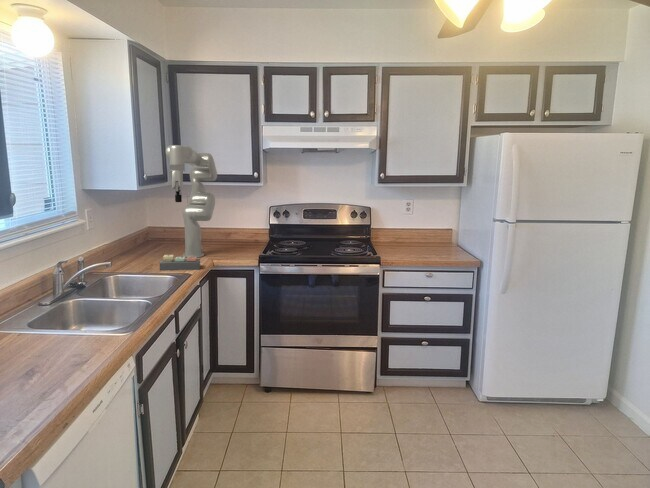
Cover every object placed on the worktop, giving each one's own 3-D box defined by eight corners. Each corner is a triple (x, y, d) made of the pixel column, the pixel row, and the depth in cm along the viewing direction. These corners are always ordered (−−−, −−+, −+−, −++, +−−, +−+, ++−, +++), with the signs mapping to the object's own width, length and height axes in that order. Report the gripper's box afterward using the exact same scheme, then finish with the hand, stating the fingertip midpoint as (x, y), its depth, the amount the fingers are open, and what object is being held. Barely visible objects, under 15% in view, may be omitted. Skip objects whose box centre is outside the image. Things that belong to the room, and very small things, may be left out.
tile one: (163, 265, 226) (163, 256, 225) (164, 263, 231) (164, 254, 230) (172, 265, 227) (172, 256, 226) (174, 263, 232) (173, 254, 231)
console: (159, 270, 224) (159, 263, 223) (162, 266, 233) (162, 259, 232) (199, 269, 229) (198, 262, 228) (200, 265, 237) (200, 258, 237)
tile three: (187, 267, 229) (186, 258, 228) (187, 265, 234) (187, 256, 233) (196, 267, 230) (196, 257, 229) (196, 265, 235) (196, 256, 234)
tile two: (175, 267, 228) (175, 258, 227) (176, 265, 232) (176, 256, 231) (184, 267, 229) (184, 258, 228) (185, 265, 233) (185, 256, 232)
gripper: (171, 168, 238) (173, 200, 241) (168, 168, 223) (169, 203, 227) (185, 168, 239) (186, 201, 243) (183, 168, 225) (184, 203, 228)
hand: (178, 202), depth 235 cm, fingers closed
